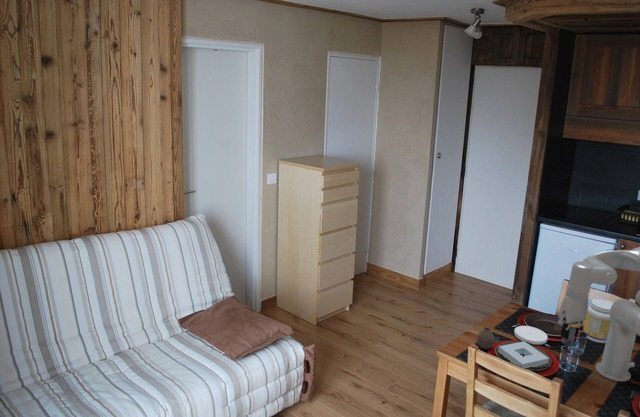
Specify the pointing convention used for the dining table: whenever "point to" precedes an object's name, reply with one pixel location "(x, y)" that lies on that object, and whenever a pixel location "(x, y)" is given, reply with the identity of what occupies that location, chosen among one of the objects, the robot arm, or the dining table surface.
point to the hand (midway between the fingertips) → (568, 336)
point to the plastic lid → (530, 335)
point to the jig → (531, 354)
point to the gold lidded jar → (571, 333)
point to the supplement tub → (598, 320)
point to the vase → (485, 338)
